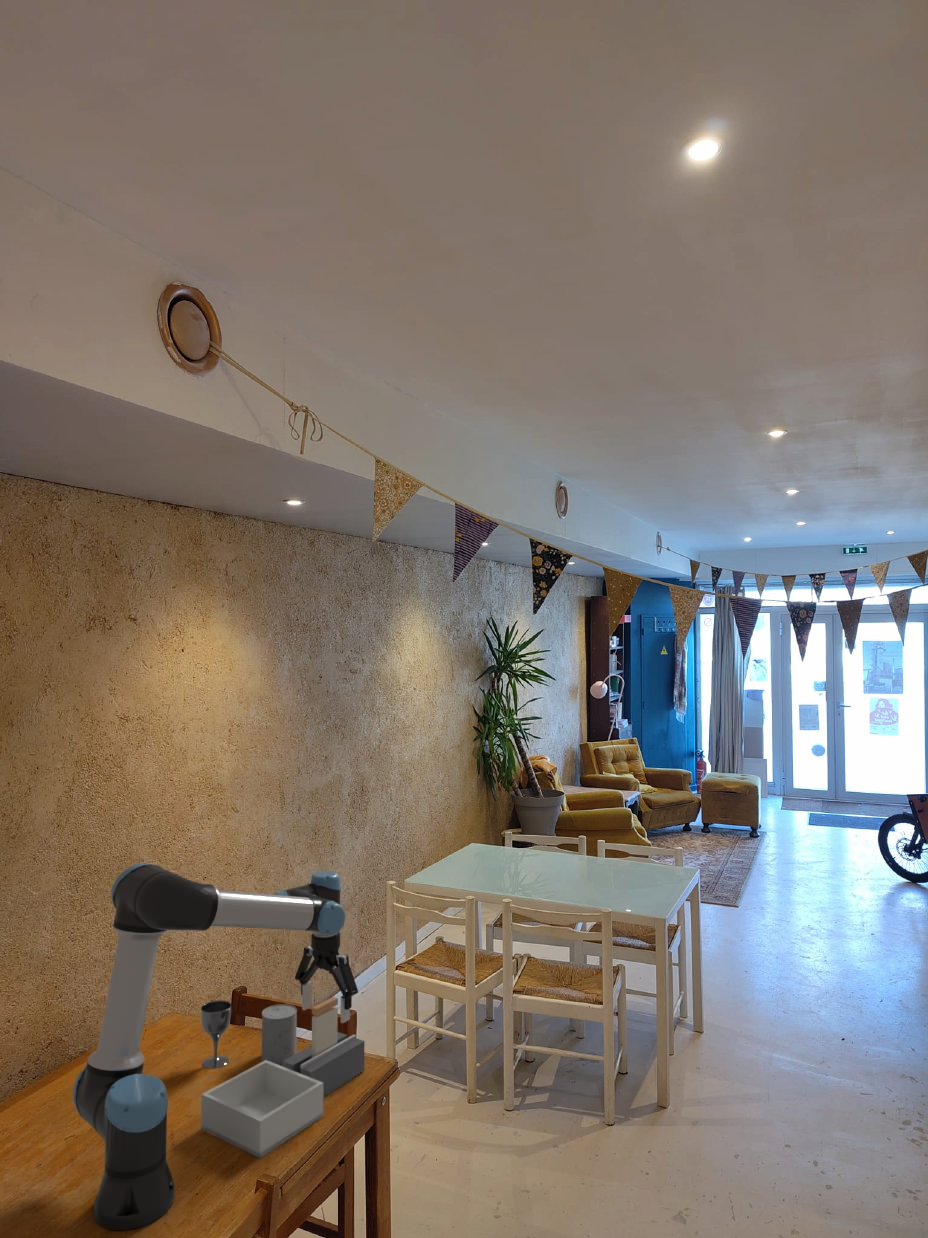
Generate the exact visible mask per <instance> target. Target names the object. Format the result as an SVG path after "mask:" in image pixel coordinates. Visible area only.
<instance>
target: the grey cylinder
mask: <svg viewBox="0 0 928 1238" xmlns="http://www.w3.org/2000/svg"><path fill="white" fill-rule="evenodd" d="M297 1012H298V1009H297V1007H296V1006H294V1005H292V1004H285V1003H282V1004H281V1003H280V1004H273V1005H270V1006H268V1007H266V1008H264V1009H263V1010H262V1012H261V1057H260V1058H261V1062H263V1061H265V1060H267V1061H270V1062H272V1063H275V1064H277V1065H280V1066H283V1061H284V1060H286V1059H288V1058H289V1057H291V1056H293V1055H295V1054H297V1018H298V1017H297V1016H298V1015H297Z"/></svg>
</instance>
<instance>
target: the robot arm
mask: <svg viewBox="0 0 928 1238" xmlns="http://www.w3.org/2000/svg"><path fill="white" fill-rule="evenodd" d="M310 878H311V879H310V883H307V884H305V885H301V886H297V887H292V888H287V889H282V890H280V891H277V892H274V893H273V894H271V893H269V894H268V893H257V892H247V891H233V890H223V889H221V890H220V889H218V888H217V887H216V886H215V885H214V884H209V883H201V882H197V881H194V880H191V879H189V878H186V877H184V876H181V875H179V874H176V873H175V872H172V871H170V870H167V869H165V868H164V867H161V866H160V865H157V864H151V863H149V862H148V863H147V862H141V863H135V864H133V865H130V866H129V867H127V868H126V869H124V870H123V871H122V872H121V873H120V874H119V875H118V876H117V877H116V879H115V880H114V882H113V885H112V887H111V892H110V895H111V896H110V897H111V903H112V905H113V906H114V908H115V912H114V913H115V915H114V920H113V925H112V928H113V930H114V931H115V932H116V933H117V935H118V938H117V942H116V943H117V944H116V949H115V953H114V959H113V965H112V969H111V975H110V980H109V986H108V991H107V996H106V1002H105V1006H104V1012H103V1017H102V1023H101V1027H100V1032H99V1038H98V1044H97V1049H96V1050H95V1051H93V1052H91V1054H90V1055H89V1056H88V1057H87V1061H86V1065H85V1066H84V1068H83V1070H81V1071H80V1072H79V1073H78V1075H77V1076H76V1079H75V1081H74V1085H73V1089H72V1100H73V1104H74V1107H75V1109H76V1111H77V1112H78V1114H79V1116H80V1117H81V1118H82V1119H83V1121H85V1123H88V1124H89V1125H90V1126H91V1127H92V1129H93V1130H95V1132H96V1133H97V1134H98V1135H99V1136H100V1137H101V1138H102V1139H103V1140H104V1172H103V1176H102V1179H101V1181H100V1185H99V1189H98V1192H97V1194H96V1196H95V1199H94V1209H93V1211H94V1212H93V1213H94V1214H93V1215H94V1217H93V1218H94V1220H95V1221H96V1223H97V1224H98V1225H99V1226H100V1227H102V1228H105V1229H107V1230H112V1231H127V1230H129V1231H130V1230H133V1229H137V1228H141V1227H144V1226H147V1225H149V1224H152V1223H154V1222H155V1221H156V1220H158V1219H159V1218H161V1217H163V1216H164V1215H165V1214H166V1213H167V1212H168V1211H169V1210H170V1209H171V1207H172V1206H173V1204H174V1201H175V1191H176V1190H175V1189H176V1188H175V1182H174V1178H173V1176H172V1173H171V1169H170V1167H169V1164H168V1161H167V1136H168V1135H167V1134H168V1131H167V1129H168V1128H167V1127H168V1126H167V1125H168V1123H167V1122H168V1106H169V1101H168V1100H169V1099H168V1093H167V1088H166V1085H165V1083H164V1082H163V1081H162V1080H161V1079H160V1078H158V1077H157V1076H155V1075H152V1074H149V1075H146V1074H145V1073H143V1072H144V1071H143V1070H144V1065H145V1059H146V1058H145V1056H144V1054H143V1053H142V1052H141V1050H140V1047H141V1041H142V1036H143V1029H144V1023H145V1018H146V1013H147V1010H148V1009H147V1008H148V1003H149V1002H148V1001H149V996H150V992H151V991H150V990H151V986H152V981H153V976H154V969H155V963H156V959H157V953H158V948H159V943H160V938H161V937H162V936H163V935H164V934H165V933H167V932H168V931H198V932H204V931H208V930H210V928H212V927H222V928H224V927H227V928H246V929H247V928H248V929H265V930H266V929H268V930H287V931H293V930H294V931H308V932H310V933H312V934H311V935H310V938H311V940H310V942H311V945H308V946H306V947H303V953H302V954H303V956H302V958H301V960H300V963H299V966H298V968H297V971H296V973H295V976H294V979H295V981H299V984H300V994H301V996H302V997H301V998H302V1000H301V1001H302V1005H301V1006H302V1008H301V1009H302V1011H306V1010H308V1009H310V1008H312V1007H313V1006H312V1005H313V1004H312V1003H313V999H312V998H313V997H312V996H313V994H312V993H313V991H312V990H313V989H312V988H313V987H312V986H313V984H312V978H313V976H314V974H315V973H316V972H317V971H318V969H319V970H325V971H326V972H329V974H330V975H332V977H333V978H334V979H333V980H334V981H335V983H336V985H337V987H338V988H339V991H340V993H341V994H342V996H340V1023H341V1024H344V1023H347V1022H348V1021H349V1020H350V1019H351V1008H352V1004H353V1003H352V998H353V996H354V995H357V994H358V993H359V989H358V986H357V983H356V981H355V978H354V975H353V972H352V969H351V965H350V959H349V955H348V954H343V955H340V953H339V952H340V951H339V949H340V947H341V932H340V931H341V930H342V928H343V926H344V925H345V921H346V911H345V909H344V908H343V906H342V905H341V892H342V891H341V890H342V889H341V879H340V875H339V873H337V872H335V871H332V870H323V871H321V870H320V871H316V872H314V873H313V874H312V875H311V877H310ZM312 957H313V960H312ZM311 961H312V962H311Z"/></svg>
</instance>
